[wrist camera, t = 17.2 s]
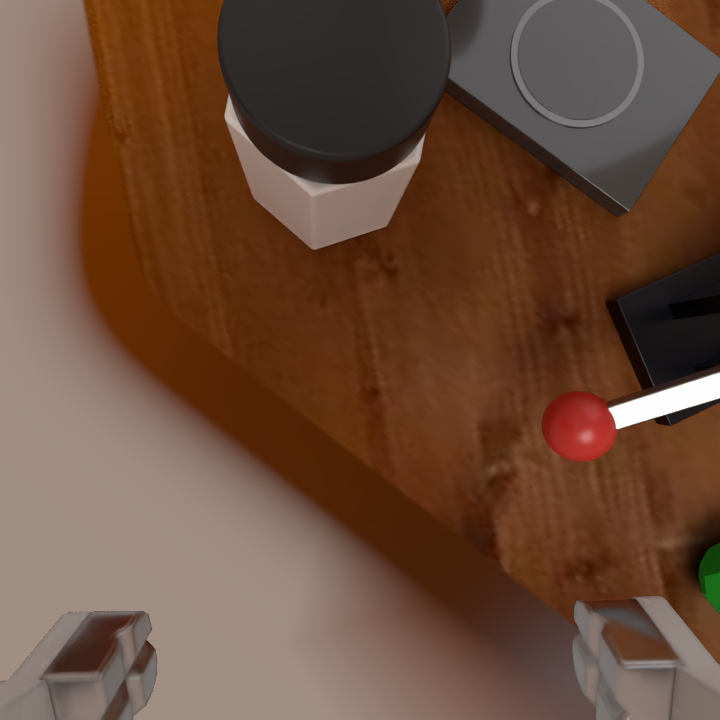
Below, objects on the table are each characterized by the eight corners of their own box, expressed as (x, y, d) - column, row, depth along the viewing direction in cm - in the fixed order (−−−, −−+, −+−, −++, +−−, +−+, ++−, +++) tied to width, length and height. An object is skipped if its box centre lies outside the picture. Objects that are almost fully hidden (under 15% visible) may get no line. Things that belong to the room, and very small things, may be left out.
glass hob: (414, 68, 30) (419, 54, 29) (516, -76, 31) (525, -96, 29) (617, 217, 31) (631, 210, 30) (711, 74, 32) (729, 61, 30)
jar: (432, 174, 30) (510, 45, 18) (341, 278, 29) (359, 216, 17) (315, 70, 30) (316, -135, 18) (221, 173, 29) (154, 35, 17)
